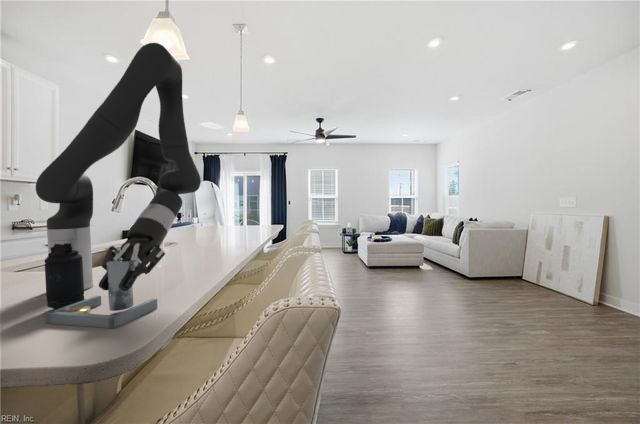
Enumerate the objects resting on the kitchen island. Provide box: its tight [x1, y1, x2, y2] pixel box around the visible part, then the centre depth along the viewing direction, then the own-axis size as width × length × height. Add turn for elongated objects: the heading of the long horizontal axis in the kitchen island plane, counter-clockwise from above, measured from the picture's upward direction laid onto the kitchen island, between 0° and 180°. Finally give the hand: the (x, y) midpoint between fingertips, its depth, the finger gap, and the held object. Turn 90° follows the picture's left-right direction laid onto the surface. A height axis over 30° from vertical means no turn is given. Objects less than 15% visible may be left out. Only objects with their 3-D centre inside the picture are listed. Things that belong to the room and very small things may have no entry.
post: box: [106, 258, 134, 312], centre depth 65 cm, size 4×4×10 cm
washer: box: [67, 306, 92, 314], centre depth 63 cm, size 4×4×2 cm
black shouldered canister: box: [44, 243, 85, 310], centre depth 68 cm, size 7×7×15 cm
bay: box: [44, 295, 158, 329], centre depth 64 cm, size 16×11×2 cm
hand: (112, 288), depth 63 cm, fingers closed on post, 4 cm apart
